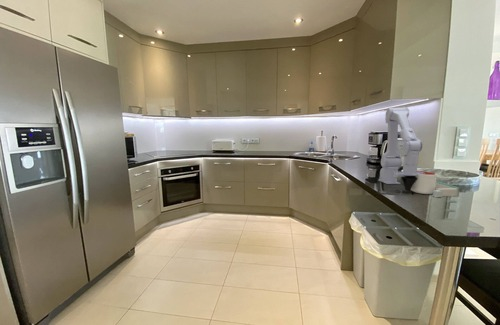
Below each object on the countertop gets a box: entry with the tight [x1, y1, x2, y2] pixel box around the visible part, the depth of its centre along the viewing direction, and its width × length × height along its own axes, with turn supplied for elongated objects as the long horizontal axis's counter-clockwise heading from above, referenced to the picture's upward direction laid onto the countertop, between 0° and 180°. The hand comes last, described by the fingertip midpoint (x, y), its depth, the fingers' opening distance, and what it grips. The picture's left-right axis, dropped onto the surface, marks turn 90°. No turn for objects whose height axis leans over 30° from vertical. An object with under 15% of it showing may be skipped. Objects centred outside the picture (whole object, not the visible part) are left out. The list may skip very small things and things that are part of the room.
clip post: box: [432, 189, 443, 198], centre depth 103 cm, size 2×2×3 cm
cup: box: [410, 170, 438, 195], centre depth 111 cm, size 10×10×10 cm
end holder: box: [435, 180, 461, 197], centre depth 111 cm, size 14×10×4 cm
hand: (407, 190), depth 111 cm, fingers closed
